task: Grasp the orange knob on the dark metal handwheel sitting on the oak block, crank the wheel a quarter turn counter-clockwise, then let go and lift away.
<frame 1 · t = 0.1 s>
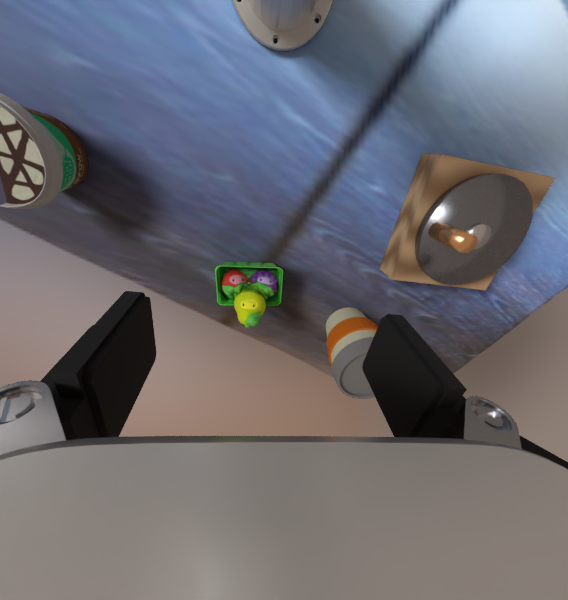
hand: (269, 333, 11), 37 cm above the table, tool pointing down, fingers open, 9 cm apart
reusable coffee cup: (345, 323, 58), on the table
food container: (74, 158, 37), on the table
fruit basket: (250, 277, 50), on the table
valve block: (447, 224, 48), on the table
handwheel: (487, 240, 39), point 10 cm above the table, hinge at 0.0°
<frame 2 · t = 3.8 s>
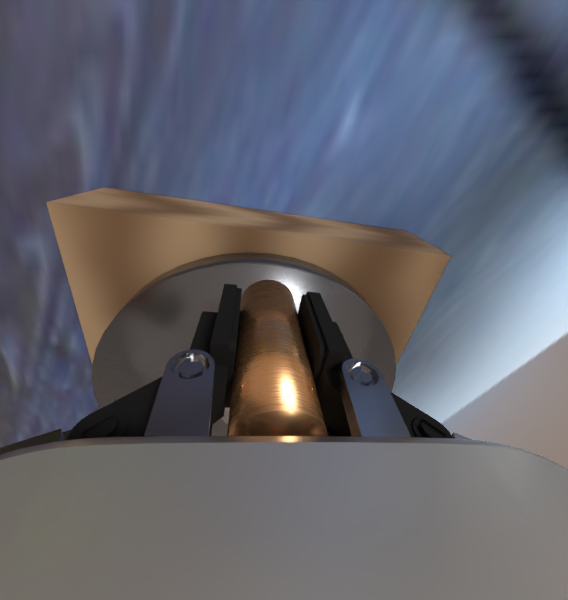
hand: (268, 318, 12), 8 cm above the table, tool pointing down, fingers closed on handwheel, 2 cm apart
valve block: (254, 331, 22), on the table
handwheel: (252, 441, 14), point 10 cm above the table, hinge at 0.0°, touching gripper
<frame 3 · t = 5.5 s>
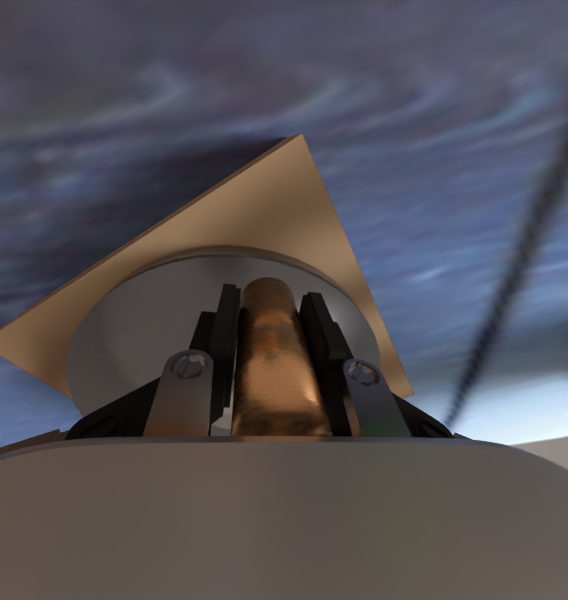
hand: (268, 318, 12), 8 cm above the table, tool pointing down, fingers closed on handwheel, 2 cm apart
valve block: (240, 328, 22), on the table
handwheel: (234, 440, 13), point 10 cm above the table, hinge at 43.6°, touching gripper
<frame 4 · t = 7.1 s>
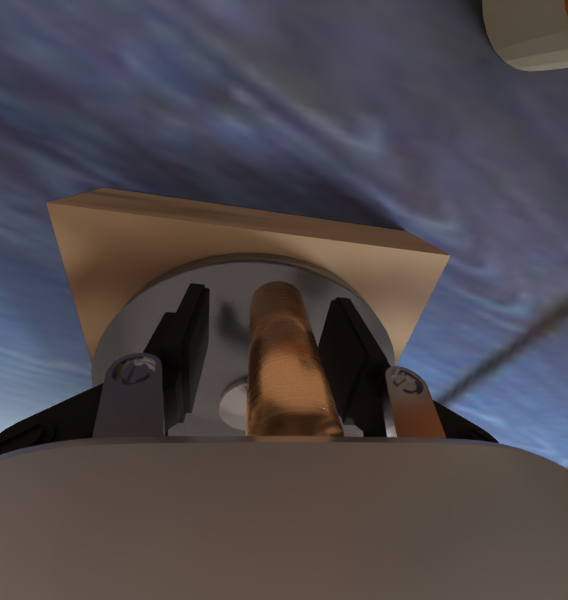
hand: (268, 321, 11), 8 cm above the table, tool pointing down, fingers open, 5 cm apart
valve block: (254, 331, 22), on the table
handwheel: (252, 441, 14), point 10 cm above the table, hinge at 85.9°
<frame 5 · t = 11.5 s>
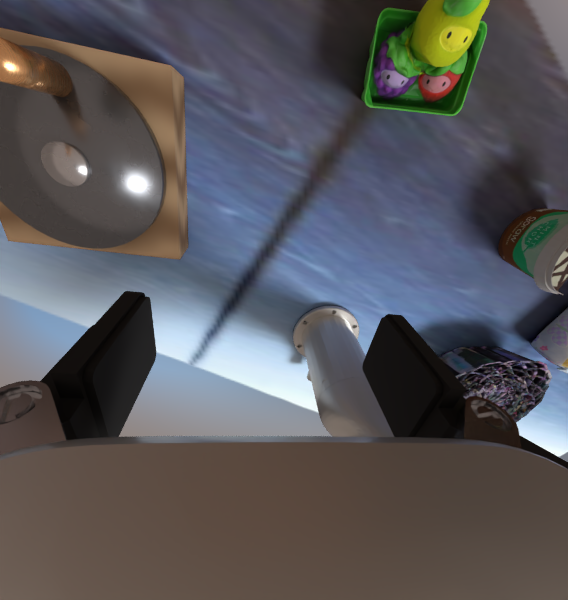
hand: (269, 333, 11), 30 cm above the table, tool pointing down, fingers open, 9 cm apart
food container: (512, 232, 43), on the table
fruit basket: (400, 71, 31), on the table
decorative bowl: (454, 376, 61), on the table
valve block: (103, 161, 32), on the table
handwheel: (51, 166, 24), point 10 cm above the table, hinge at 85.9°
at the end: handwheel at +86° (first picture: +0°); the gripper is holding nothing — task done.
